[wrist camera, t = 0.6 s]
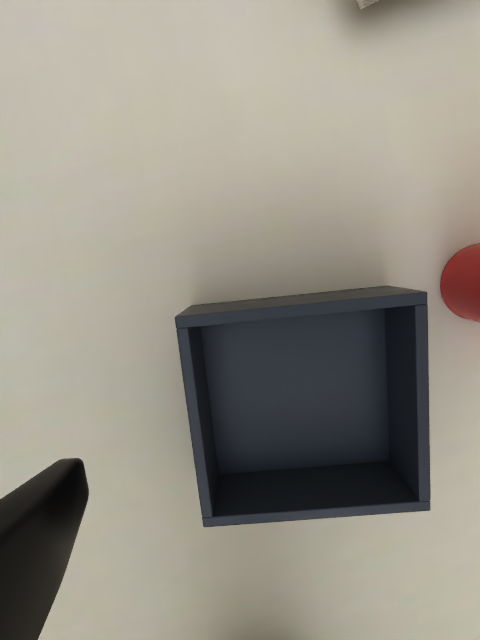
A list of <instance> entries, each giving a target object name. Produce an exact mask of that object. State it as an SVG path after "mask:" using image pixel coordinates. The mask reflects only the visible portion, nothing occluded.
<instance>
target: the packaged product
mask: <svg viewBox="0 0 480 640" xmlns="http://www.w3.org/2000/svg"><path fill="white" fill-rule="evenodd" d="M356 1H357V3H358V6H359V9H362V8H364V7H366V6H369V5H371V4H373V3H375V2H378V1H380V0H356Z"/></svg>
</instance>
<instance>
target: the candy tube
mask: <svg viewBox="0 0 480 640" xmlns="http://www.w3.org/2000/svg"><path fill="white" fill-rule="evenodd" d="M441 293H442V297H443V299H444V301H445V303H446V305H447V306H448V308H449V309H450V310H451V311H452V312H454V313H455V314H456V315H458V316H460V317H462V318H465V319H469V320H473V321H477V322H480V243H479V244H474V245H471V246H468V247H466V248H464V249H462V250H461V251H459V252H458V253H457V254H455V255H454V256H453V257H452V258H451V260H450V261H449V262H448V264H447V265H446V267H445V269H444V271H443V274H442V278H441Z"/></svg>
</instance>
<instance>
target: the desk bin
mask: <svg viewBox="0 0 480 640" xmlns="http://www.w3.org/2000/svg"><path fill="white" fill-rule="evenodd" d="M175 323H176V328H177V337H178V344H179V352H180V359H181V366H182V374H183V381H184V388H185V396H186V403H187V410H188V418H189V425H190V432H191V440H192V447H193V454H194V462H195V469H196V476H197V484H198V491H199V498H200V506H201V513H202V520H203V526H204V527H213V526H226V525H240V524H253V523H267V522H281V521H294V520H308V519H321V518H335V517H348V516H362V515H375V514H389V513H402V512H416V511H429V510H430V445H429V375H428V305H427V292H425V291H419V290H412V289H406V288H400V287H392V286H380V287H370V288H360V289H350V290H340V291H330V292H320V293H310V294H300V295H290V296H280V297H271V298H261V299H251V300H241V301H231V302H221V303H211V304H201V305H191V306H190V307H188V308H187V309H185V310H184V311H183V312H181V313H180V314H178V315H177V316H176V317H175Z"/></svg>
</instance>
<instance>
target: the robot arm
mask: <svg viewBox="0 0 480 640" xmlns="http://www.w3.org/2000/svg"><path fill="white" fill-rule="evenodd" d="M88 496H89V489H88V484H87V478H86V473H85V468H84V464H83V461H82V460H81V459H79V458H70V459H61V460H58V461H57V462H55V463H54V464H52V465H51V466H49V467H48V468H46V469H45V470H43V471H42V472H40V473H39V474H37V475H36V476H34V477H33V478H31V479H30V480H29V481H27V482H26V483H24V484H23V485H21V486H20V487H18V488H17V489H15V490H14V491H12V492H11V493H9V494H8V495H6V496H5V497H3V498H2V499H0V640H38V638H39V635H40V633H41V631H42V628H43V626H44V623H45V621H46V619H47V616H48V614H49V612H50V609H51V607H52V604H53V602H54V600H55V597H56V595H57V592H58V590H59V587H60V585H61V582H62V579H63V577H64V574H65V571H66V568H67V565H68V561H69V558H70V555H71V552H72V549H73V546H74V543H75V539H76V536H77V533H78V530H79V527H80V524H81V520H82V517H83V514H84V511H85V508H86V505H87V501H88Z"/></svg>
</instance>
